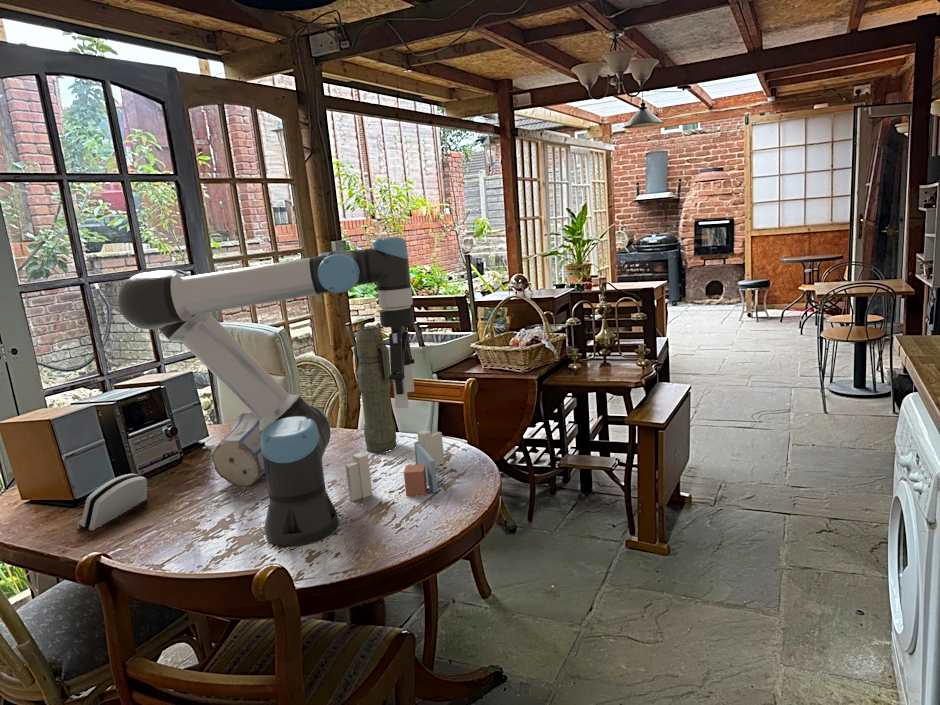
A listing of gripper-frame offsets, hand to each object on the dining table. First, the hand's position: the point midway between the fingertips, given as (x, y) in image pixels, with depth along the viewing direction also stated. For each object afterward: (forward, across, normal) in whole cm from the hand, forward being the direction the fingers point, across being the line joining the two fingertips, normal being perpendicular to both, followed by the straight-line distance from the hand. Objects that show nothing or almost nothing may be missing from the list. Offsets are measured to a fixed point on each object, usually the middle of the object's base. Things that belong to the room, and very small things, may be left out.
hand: (405, 399), depth 152 cm
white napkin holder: (+23, 0, -71) cm, 75 cm away
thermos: (+23, -34, -13) cm, 43 cm away
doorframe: (+23, -8, -5) cm, 24 cm away
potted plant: (+23, -24, -42) cm, 54 cm away
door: (+22, -6, +2) cm, 23 cm away
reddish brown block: (+23, 0, 0) cm, 23 cm away
